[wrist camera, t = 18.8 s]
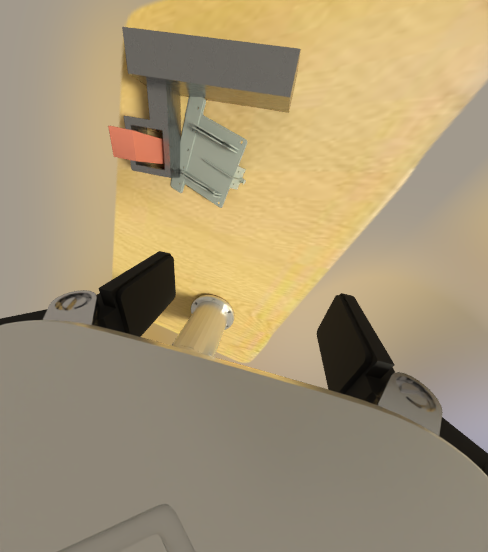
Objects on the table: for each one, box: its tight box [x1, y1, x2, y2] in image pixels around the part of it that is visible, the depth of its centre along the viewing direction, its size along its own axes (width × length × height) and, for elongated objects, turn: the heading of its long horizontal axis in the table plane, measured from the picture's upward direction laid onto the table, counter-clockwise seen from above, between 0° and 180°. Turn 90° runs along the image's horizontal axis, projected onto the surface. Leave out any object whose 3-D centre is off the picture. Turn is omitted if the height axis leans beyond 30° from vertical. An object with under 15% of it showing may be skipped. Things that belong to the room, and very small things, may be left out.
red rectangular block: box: [108, 126, 165, 164], centre depth 29 cm, size 4×4×10 cm
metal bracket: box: [171, 97, 247, 208], centre depth 32 cm, size 14×6×15 cm
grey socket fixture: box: [122, 27, 301, 178], centre depth 27 cm, size 16×25×6 cm, turn 81°
